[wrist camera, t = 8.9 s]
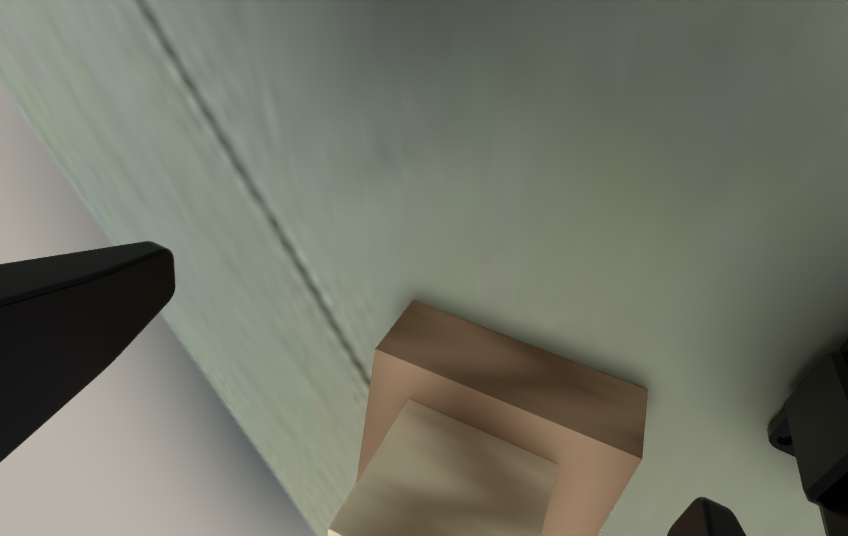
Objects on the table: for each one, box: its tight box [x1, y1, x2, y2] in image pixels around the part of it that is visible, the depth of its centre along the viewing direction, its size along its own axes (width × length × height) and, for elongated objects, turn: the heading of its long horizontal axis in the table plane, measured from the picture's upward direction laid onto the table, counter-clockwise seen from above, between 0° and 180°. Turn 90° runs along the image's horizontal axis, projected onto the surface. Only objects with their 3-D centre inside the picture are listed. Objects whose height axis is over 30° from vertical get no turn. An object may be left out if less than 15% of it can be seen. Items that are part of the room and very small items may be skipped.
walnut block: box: [356, 301, 648, 536], centre depth 24 cm, size 10×10×4 cm
